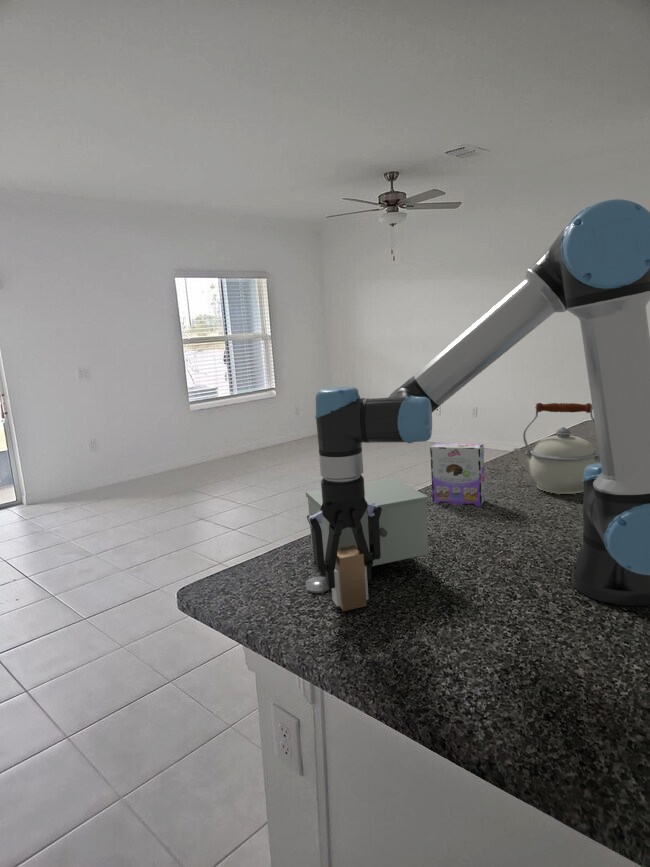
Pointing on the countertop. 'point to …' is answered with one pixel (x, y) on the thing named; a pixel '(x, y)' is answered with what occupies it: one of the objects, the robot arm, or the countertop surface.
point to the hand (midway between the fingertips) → (350, 599)
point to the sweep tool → (351, 577)
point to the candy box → (458, 473)
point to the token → (317, 585)
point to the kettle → (559, 455)
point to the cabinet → (386, 520)
